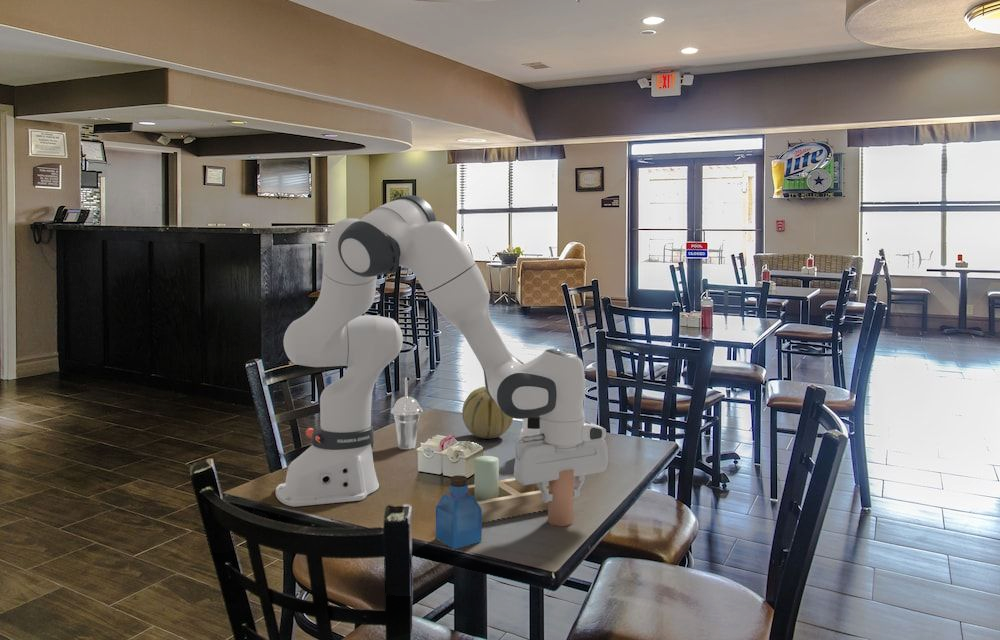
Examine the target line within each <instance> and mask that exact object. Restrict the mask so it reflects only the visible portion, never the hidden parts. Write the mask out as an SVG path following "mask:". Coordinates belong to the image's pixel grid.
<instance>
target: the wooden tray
mask: <svg viewBox="0 0 1000 640" xmlns="http://www.w3.org/2000/svg"><path fill="white" fill-rule="evenodd" d="M548 486H549V482H548ZM548 486H547V487H546V488H547V490H548ZM466 493H468V494H470V495H472V496H474V484H470V485H469V484H468V490H467V491H466ZM476 501H477V500H476ZM477 503H478V504H479V506H480V508H481V509H482V524H483V522H484V523H488V521H489V522H493V521H492V520H495V521H498V520H497V519H500V520H502V519H501V518H505V519H508V518H507V517H510V518H512V517H511V516H515V517H518V516H517V515H520V516H523V515H522V514H526V515H528V514H527V513H531V514H533V513H532V512H536V513H539V512H538V511H541V512H543V511H542V510H546V511H548V510H547V509H548V503H545V502H543V501H542V492H541V491H540V489H539V487H538V485H537V483H536V484H530V485H523V484H521V483H519V482H518V481H517V480H516V479H515V478H514V477H511V478H505V479H500V480H499V498H493V499H488V500H482V501H477Z"/></svg>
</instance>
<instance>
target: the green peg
mask: <svg viewBox="0 0 1000 640" xmlns="http://www.w3.org/2000/svg"><path fill="white" fill-rule="evenodd" d="M499 467H500V459H499V458H498V457H497V456H492V455H481V456H476V457H475V458H474V484H473V485H474V498H475V500H477V501H482V500H488V499H493V498H499V479H500V477H499V475H500V469H499Z"/></svg>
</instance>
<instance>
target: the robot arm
mask: <svg viewBox="0 0 1000 640" xmlns="http://www.w3.org/2000/svg"><path fill="white" fill-rule="evenodd" d="M435 214H436V213H435V212H434V210H433V207H432V206H431V205H430V204H429V203H428V201H426V200H425V199H424V198H422V197H420V196H418V195H411V194H409V195H403V196H399V197H396V198H394V199H392V201H389V202H386V203H384V204H382V205H380V206H378V207H376V208H374V209H373V210H371V211H370V212H368V213H367V214H365V215H364V216H363V217H361V218H355V217H354V218H352V217H350V218H344V219H341V220H338V221H337V222H336V223H335V224H333V226H332V227H331V229H330V231H329V234H328V238H327V242H326V245H325V251H324V256H323V265H322V279H321V287H320V292H319V295H318V298H317V299H316V302H315V303H314V304H313V306H312V307H311V308H310V309H309V310H308V311H307V312H306V313H305V314H303V315H302V316H300V317H299V318H297V319H295V320H293V321H292V322H291V323H290V324H289V325H288V327H287V329H285V332H284V336H283V348H284V349H283V350H284V352H285V354H286V356H287V358H288V359H289V360H290V362H291V363H293V364H294V365H299V366H303V367H312V368H326V367H342V366H343V367H344V366H345V367H347V369H346V372H345V374H343V376H342V377H341V378H339V379H337V380H336V381H334V382H331V383H330V384H328V385H327V386H326V387H325V388H324V389H323V390H322V392H321V394H320V397H319V408H320V411H319V412H320V415H319V418H320V426H319V427H318V428H317V429H316V430H315V429H314V427H313V428H312V427H308V428H307V429H306V430H305V435H306V436H307V437H308V438H309V439H311V445H310V446H309V447H308V448H307V449H306V450H305V451H303V452H302V453H300V455H299V456H297V457H296V458H295V459H293V461H291V462H290V463H289V465H288V467H287V471H286V477H285V482H284V483H283V482H282V483H280V484H278V486H276V488H275V497H276V498H277V500H278V501H279V502H280V503H282V504H284V505H285V506H289V507H295V508H296V507H305V506H315V505H316V506H317V505H326V504H335V503H336V504H337V503H346V502H348V503H349V502H356V501H357V502H358V501H362V500H365V498H367V496H368V495H370V494H372V493H374V492H376V491H377V490H378V489H379V487H380V483H379V480H378V476H377V472H376V468H375V464H374V457H373V449H374V442H375V441H374V438H375V437H374V436H375V435H374V426H373V425H372V399H373V393H374V388H375V384H376V381H377V380H378V378H379V376H380V375H381V373H382V372H383V371H384V369H385V368H386V367H387V366H388V365H389V364H390V363H391V362H393V361H394V360H395V359H396V358H397V357H398V356H399V354H400V352H401V351H402V347H403V342H404V337H403V332H402V329H401V327H400V325H399V323H397V321H396V320H395V319H394V318H391V317H387V316H380V315H372V314H369V315H364V314H365V313H366V312H367V311H369V309H371V308H372V306H373V304H374V301H375V297H376V289H377V282H378V281H377V280H378V276H380V275H391V274H392V275H393V274H396V273H397V272H398V270H399V267H403V268H407V269H408V270H410V272H412V273H413V275H414V276H415V277H416V279H417V280H418V282H419V284H420V286H421V288H422V289H423V291H424V292H425V295H426V296H427V297H428V299H429V301H430V302H431V303H432V305H433V306H434V307H435V309H436V310H437V311H438V313H439V314H440V315H441V316H442V317H443V319H445V321H447V322H448V323H450V325H452V326H454V327H455V328H456V330H458V331H459V332H460V333H461V334H462V335H463V337H464V338H465V340H466V341H467V343H468V345H469V346H470V348H471V349H472V352H473V353H474V355H475V357H476V359H477V360H478V362H479V364H480V366H481V368H482V371H483V377H484V385H485V386H484V387H486V391H487V393H488V395H489V397H490V398H491V400H492V401H493V402H495V403H496V404H497V405H498V407H499V408H500V409H501V410H502V411H503V412H504V413H505V414H506V415H508V416H510V417H512V418H513V419H517V420H523V419H525V418H530V417H535V416H540V434H538V435H533V436H524V437H522V439H521V440H519V439H518V441H517V442H516V443H515V458H514V459H515V460H514V467H513V478H515V479H516V480H517V481H518V482H519V483H521V484H523V485H530V484H536V483H537V485H538V487H539V489H540V491H541V492H542V501H543V502H545V503H548V502H552V501H553V499H552V498H553V494H552V493H550V492H549V491H548V490H547V488H546V487H547V486H548V482H549V481H553V480H558V478H559V472H561V471H567V470H573V469H574V498H575V499H576V498H579V497H580V496H581V493H580V492H581V488H582V486H583V484H584V482H585V480H586V476H587V475H593V474H598V473H604V471H606V469H607V467H608V462H609V461H608V460H609V459H608V457H609V456H608V445H607V441H606V440H605V438H606V436H607V429H606V428H604V427H602V426H601V425H598V424H595V423H593V422H589V421H586V420H585V417H586V416H585V411H584V400H585V398H586V378H585V367H584V362H583V360H582V358H581V357H580V356H579V355H577V354H576V353H574V352H571V351H568V350H563V349H559V348H548V349H544V351H543V353H541V354H540V355H538V356H537V357H535V358H534V359H531V360H530V361H528V362H526V363H524V362H523V361H521V360H520V359H518V358H517V357H515V356H514V355H512V353H511V352H510V351H509V350H508V347H507V346H506V343H505V342H504V341H503V339H502V338H501V336H500V334H499V332H498V330H497V328H496V326H495V325H494V322H493V321H492V318H491V314H490V308H489V307H490V300H491V299H490V298H491V295H490V291H489V288H488V285H487V283H486V281H485V279H484V278H485V277H484V276H483V273H482V271H481V269H480V268H479V265H478V264H477V262H476V261H475V259H474V257H473V255H472V254H471V253H470V251H469V250H468V249H467V247H466V246H465V244H464V243H463V242H462V240H461V239H460V238H459V237H458V235H457V234H456V233H455V232H454V230H453V229H452V228H451V227H450V226H449V225H448V224H446V223H445V222H442V221H437V218H436V215H435ZM521 441H523V442H521ZM574 498H573V499H574Z"/></svg>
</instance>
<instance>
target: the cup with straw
mask: <svg viewBox="0 0 1000 640" xmlns="http://www.w3.org/2000/svg"><path fill="white" fill-rule="evenodd" d="M408 381H410V378H409V377H408V376H407V377H404V396H402V397H400V398H398V399H397V400H396V402H395V403H394V405H393V407H392V408H391V411H390V413H391V414H392V415H393V417H394V418H393V419H394V422H395V429H396V436H397V437H396V439H397V444H398V448H399V449H400V450H412V449H411V448H413V449H415V448H416V446H417V445H416V443H417V437H418V435H417V434H418V427H419V426H418V425H419V421H420V416H421V414H422V413H423V411H424V410H423V408H422V407H421V406H420V404H419V401H418V400H417V399H416V398H414V397H412V396H408Z"/></svg>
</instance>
